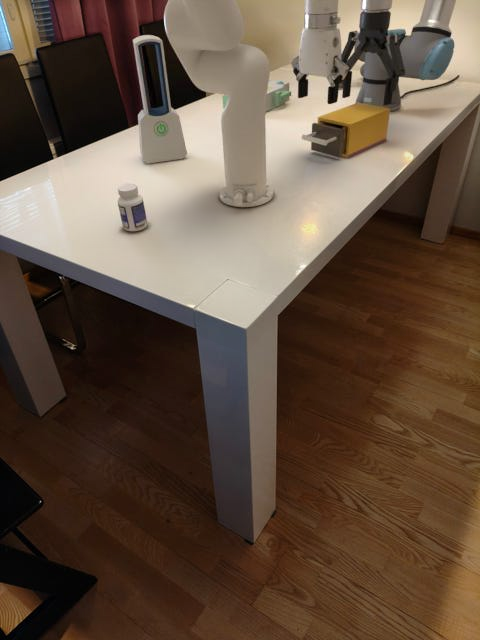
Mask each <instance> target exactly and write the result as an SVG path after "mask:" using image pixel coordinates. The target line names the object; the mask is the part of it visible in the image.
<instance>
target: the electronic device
mask: <svg viewBox="0 0 480 640" xmlns="http://www.w3.org/2000/svg"><path fill="white" fill-rule="evenodd" d="M163 42H164V41H163V40H162V39H161V38H160V37H159V36H155V35H152V34H143V35H139V36H137V37H135V38H133V39H132V45H133V50H134V57H135V64H136V70H137V77H138V82H139V88H140V93H141V94H140V95H141V100H142V108H143V109H141V110H140V111H139V113H138V114H137V123H138V125H137V126H138V139H139V151H140V152H139V153H140V155H141V159H142V160H143V161H144V162H145V163H146V164H148V165H149V164H154V163H162V162H163V163H164V162H170V161H177V160H183V159H185V158H186V157H187V154H188V151H187V146H186V142H185V137H184V132H183V128H182V124H181V123H182V122H181V118H180V115H179V114H178V112H177V111H176V110H175V109H174V108H173V107H172V104H171V97H170V96H171V95H170V87H169V80H168V73H167V65H166V64H167V63H166V58H165V49H164V43H163ZM146 45H155V52H156V60H157V65H158V66H157V68H158V74H159V83H160V89H161V98H162V104H163V105H161V106H160V107H151V106H150V105H151V104H150V99H149V92H148V86H147V79H146V71H145V67H144V66H145V65H144V60H143V59H144V58H143V53H142V47H143V46H146Z"/></svg>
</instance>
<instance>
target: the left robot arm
mask: <svg viewBox="0 0 480 640" xmlns="http://www.w3.org/2000/svg"><path fill="white" fill-rule="evenodd" d="M338 13H339V0H304V25H303V26H304V27H303V28H302V31H301V36H300V42H299V51H298V52H299V53H298V55H296V56H295V57H294V58H293V59H291V60H290V64H291V67H292V71H293V74H294V75H295V80H296V81H297V98H298V99H303V98H305V97H308V96H309V79H308V76H314V77H318V78H319V77H320V78H326V80H327V82H328V83H329V85H330V86H328V87H327V102H326V103H327V104H328V105H332V104H336V103H337V102H338V99H339V89H340V88H339V85H340V84H341V82H342V81H343V80H344V79H345V76H346V75H347V72H348V70H349V67H348V66H347V65H346V64H345V63H344V62H343V61H342V60H341V54H342V37H341V30H340V29H341V28H339V27H338V25H339V24H340V23H341V17H340V16H338ZM163 23H164V30H165V34H166V37H167V39H168V41H169V43H170V46H171V47H172V49H173V51H174V53H175V54H176V56H177V58H178V60H179V62H180V63H181V65H182V67H183V69H184V70H185V72H186V74H187V76H188V77H189V79H190V81H191V82H192V84H193V85H194V86H195V87H196V88H197V89H199V90H200V91H202V92H206V93H210V94H217V95H222V96H223V95H226V96H228V101H227V104H226V106H225V108H224V110H223V111H222V114H221V119H220V126H221V137H222V153H223V166H224V180H225V181H224V182H225V186H224V187H223V188H222V189H220V191H219V199H220V201H221V202H222V203H224V204H225V205H227V206H231V207H236V208H253V207H258V206H261V205H264V204H266V203H269V202H270V201H271V200H272V199H273V197H274V189H273V188H272V187H271V186H270V185H268V184H267V132H266V131H267V130H266V112H265V107H266V95H267V88H268V82H269V81H270V75H271V74H270V73H271V71H270V70H271V67H270V61H269V58H268V57H267V55H266V53H265V52H264V51H262V50H261V49H260V48H259V47H257V46H253V45H250V44H245V43H241V42H242V41H243V38H244V35H245V23H244V18H243V14H242V12H241V9H240V7H239V4H238V2H237V0H168V1H167V3H166V5H165V8H164V13H163ZM339 73H340V74H339ZM338 74H339V75H338Z"/></svg>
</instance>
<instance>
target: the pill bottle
mask: <svg viewBox="0 0 480 640" xmlns="http://www.w3.org/2000/svg"><path fill="white" fill-rule="evenodd" d="M117 193H118V196H119V197H118V199H117V206H118V210H119V211H118V212H119V215H120V219H121V224H122V227H123V229H124V230H125V231H128V232H138V231H141V230H144V229H146V227H147V226H148V217H147V214H146V208H145V203H144V198H143V196H142V195H141V194H139V188H138V185H137V184H135V183H132V182H131V183H123V184H121V185H119V186H118V187H117Z"/></svg>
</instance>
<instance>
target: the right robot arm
mask: <svg viewBox="0 0 480 640" xmlns="http://www.w3.org/2000/svg"><path fill="white" fill-rule="evenodd" d="M456 2H457V0H425V1H424V4H423V8H422V12H421V15H420V19H419V21H418V22H417V23H416V24H415V25H413V26H412V28H411V32H410V35H409V34H408V35H407V31H406V29H405V28H396V29H389V28H390V24H391V16H392V13H391V9H392V7H393V0H361V1H360V9H361V10H362V11H361V13H360V14H359V24H358V26H359V32H358V30H351V31H349V33H348V35H347V42H346V43H345V45H344V47H343V49H342V51H341V60H342V61H343V62H344V63H345V64H346V65H347V66H348V67H349V70H350V71H349V70H348V72H347V75H346V76H345V79H344V80H343V81H342V82H341V83H342V84H343V88H342V94H341V98H342V99H347V98H349V97H351V89H352V78H353V71H352V69H351V67H352V66H353V65H354V64H355V62H356V61H357V60H358V61H359V57H360V56H361V55H362V53H363V52H366V53H365V62H364V63H363V64H364V75H363V76H362V84H361V87H360V89H359V92H358V93H357V97H356V100H355V103H363V104H368V105H373V106H379V107H384V108H390V113H395V112H398V111H399V110H400V109H401V107H402V99H403V98H404V97H406V95H408V94H412V93H417V92H423V91H427V90H432V89H437V88H440V87H443V86H446V85H449V84H452V82H454V81H456V80H457V79H458V78H459V77H460V74H458V75H457V76H455V77H454V78H452V79H450V80H448V81H446V82H443V83H440V84H436V85H432V86H427V87H422V88H418V89H413V90H409V91H406V92H404V93H403V94H402V95H401V92H400V85H399V80H400V78H405V79H406V78H407V79H413V80H414V79H415V80H421V81H436V80H438V79H439V78H441V77H442V76H443V75H444V73H445V72H446V70H447V69H448V67H449V66H450V63H451V61H452V58H453V56H454V49H455V40H454V38H452V34H453V32H452V29H451V28H450V22H451V18H452V16H453V12H454V9H455V6H456ZM357 40H359V42H360V44H359V45H358V46H357V48H356V49H355V51H354V47H355V43H356V41H357ZM352 52H353V53H352ZM358 61H357V62H358ZM357 62H356V63H357ZM355 65H356V64H355ZM355 65H354V66H355ZM354 66H353V67H354ZM390 113H389V114H390Z"/></svg>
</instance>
